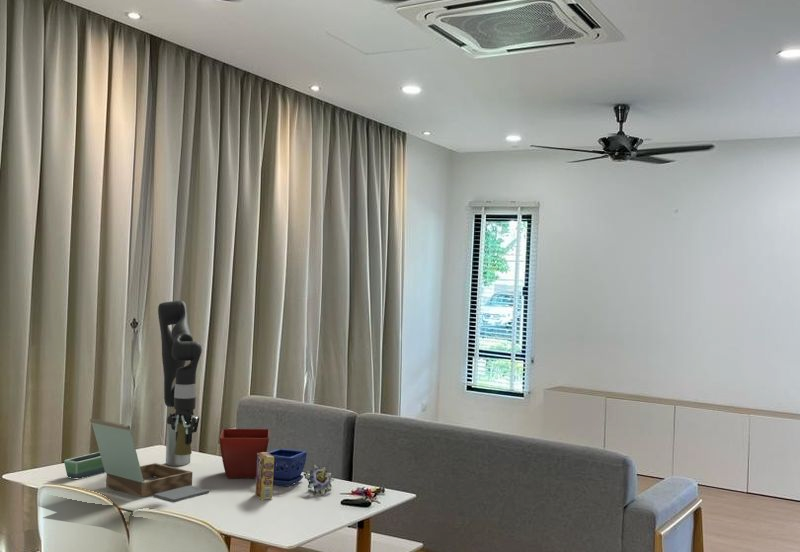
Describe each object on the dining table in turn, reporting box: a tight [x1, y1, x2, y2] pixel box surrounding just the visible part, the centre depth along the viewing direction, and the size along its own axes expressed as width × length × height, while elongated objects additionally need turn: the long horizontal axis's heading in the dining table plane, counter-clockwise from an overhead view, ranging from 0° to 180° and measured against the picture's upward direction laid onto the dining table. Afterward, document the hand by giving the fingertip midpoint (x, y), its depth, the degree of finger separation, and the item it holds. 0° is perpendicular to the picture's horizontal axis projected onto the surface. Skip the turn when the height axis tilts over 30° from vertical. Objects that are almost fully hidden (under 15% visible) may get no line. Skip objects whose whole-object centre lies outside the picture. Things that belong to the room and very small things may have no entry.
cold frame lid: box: [89, 418, 145, 483], centre depth 276 cm, size 22×22×1 cm
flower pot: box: [267, 448, 307, 487], centre depth 298 cm, size 13×13×12 cm
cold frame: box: [105, 462, 193, 498], centre depth 288 cm, size 22×22×5 cm
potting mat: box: [153, 485, 210, 503], centre depth 278 cm, size 16×11×1 cm
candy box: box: [255, 451, 274, 501], centre depth 278 cm, size 9×4×15 cm, turn 26°
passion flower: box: [303, 464, 335, 495], centre depth 287 cm, size 11×11×12 cm
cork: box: [175, 423, 192, 455], centre depth 278 cm, size 6×6×11 cm
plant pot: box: [219, 428, 270, 479], centre depth 309 cm, size 19×19×17 cm
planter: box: [63, 451, 105, 479], centre depth 307 cm, size 28×7×7 cm, turn 155°
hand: (183, 442), depth 278 cm, fingers closed on cork, 4 cm apart
